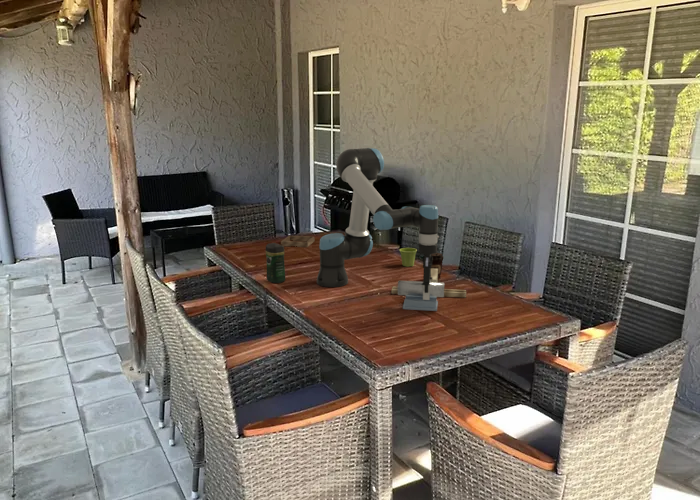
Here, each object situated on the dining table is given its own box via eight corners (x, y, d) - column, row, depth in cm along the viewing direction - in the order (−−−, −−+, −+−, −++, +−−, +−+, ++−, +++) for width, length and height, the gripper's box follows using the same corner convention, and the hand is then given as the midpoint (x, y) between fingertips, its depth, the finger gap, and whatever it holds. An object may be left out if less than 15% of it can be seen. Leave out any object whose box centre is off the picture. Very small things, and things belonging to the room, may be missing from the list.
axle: (397, 296, 234) (397, 282, 232) (399, 292, 239) (399, 279, 238) (443, 298, 230) (444, 284, 229) (443, 294, 236) (444, 281, 235)
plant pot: (396, 266, 297) (397, 251, 295) (402, 262, 306) (402, 247, 304) (414, 268, 294) (414, 252, 292) (418, 264, 303) (419, 248, 300)
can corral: (281, 246, 347) (280, 241, 346) (289, 240, 363) (288, 235, 362) (307, 247, 344) (307, 242, 343) (314, 241, 360) (314, 236, 359)
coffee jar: (288, 281, 272) (286, 244, 268) (273, 284, 268) (271, 246, 264) (278, 277, 280) (277, 240, 276) (264, 279, 276) (262, 243, 271)
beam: (389, 298, 246) (389, 277, 244) (394, 286, 263) (394, 266, 261) (466, 302, 240) (467, 281, 238) (465, 289, 257) (466, 269, 255)
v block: (402, 309, 232) (402, 301, 232) (404, 301, 242) (405, 293, 241) (436, 310, 230) (437, 302, 229) (437, 303, 239) (437, 295, 239)
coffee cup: (442, 282, 268) (443, 256, 265) (424, 281, 270) (425, 255, 267) (443, 277, 277) (443, 252, 274) (426, 277, 278) (426, 251, 275)
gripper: (436, 248, 219) (434, 304, 225) (438, 238, 237) (436, 290, 243) (417, 248, 221) (415, 303, 226) (420, 238, 239) (419, 289, 244)
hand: (426, 296), depth 234 cm, fingers closed on axle, 6 cm apart
